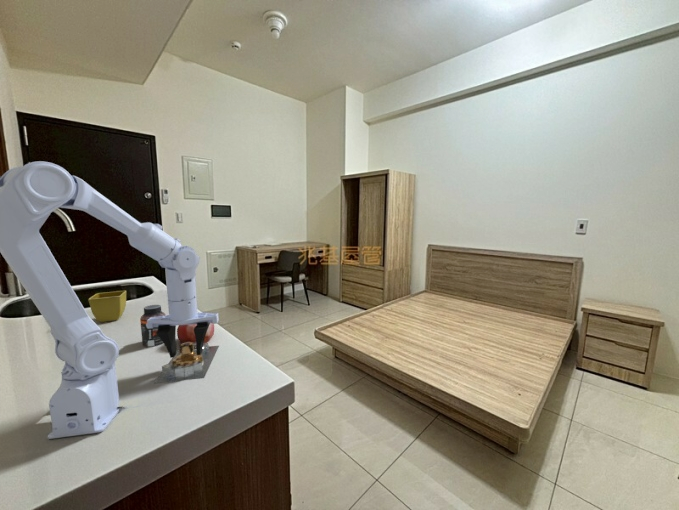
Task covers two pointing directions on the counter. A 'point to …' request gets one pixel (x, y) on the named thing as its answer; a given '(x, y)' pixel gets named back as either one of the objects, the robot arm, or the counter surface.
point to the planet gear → (187, 355)
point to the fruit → (192, 333)
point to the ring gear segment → (182, 370)
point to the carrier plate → (205, 366)
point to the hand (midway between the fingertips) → (186, 354)
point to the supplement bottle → (150, 334)
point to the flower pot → (108, 305)
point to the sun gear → (205, 348)
